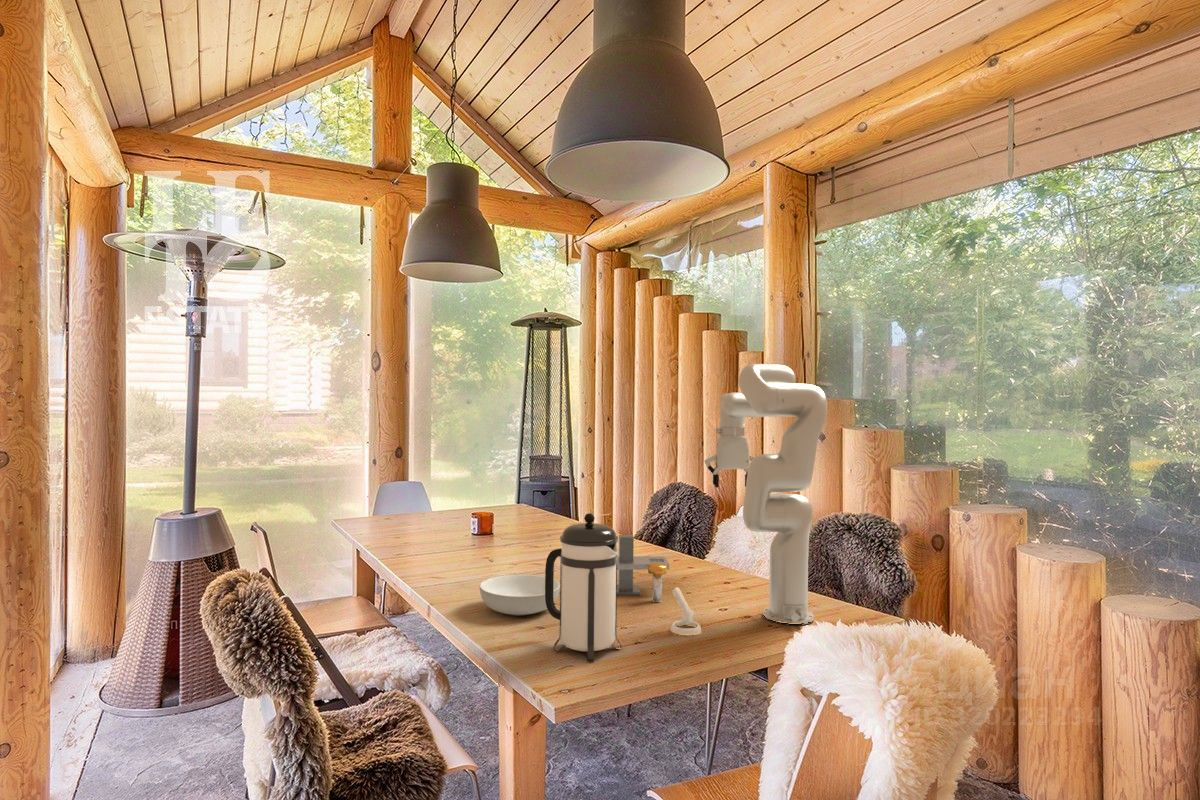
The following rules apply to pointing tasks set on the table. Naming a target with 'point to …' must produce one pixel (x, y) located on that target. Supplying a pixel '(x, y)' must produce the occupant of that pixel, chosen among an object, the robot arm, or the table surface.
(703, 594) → the table surface
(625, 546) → the grey cross bracket
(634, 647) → the table surface
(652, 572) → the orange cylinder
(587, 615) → the coffee press
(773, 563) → the robot arm
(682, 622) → the white ring with handle
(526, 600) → the serving bowl
